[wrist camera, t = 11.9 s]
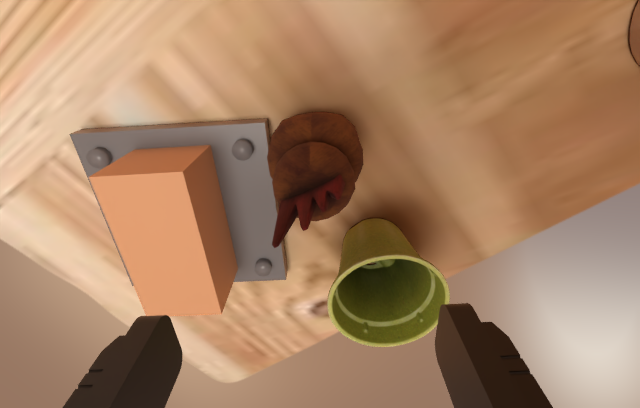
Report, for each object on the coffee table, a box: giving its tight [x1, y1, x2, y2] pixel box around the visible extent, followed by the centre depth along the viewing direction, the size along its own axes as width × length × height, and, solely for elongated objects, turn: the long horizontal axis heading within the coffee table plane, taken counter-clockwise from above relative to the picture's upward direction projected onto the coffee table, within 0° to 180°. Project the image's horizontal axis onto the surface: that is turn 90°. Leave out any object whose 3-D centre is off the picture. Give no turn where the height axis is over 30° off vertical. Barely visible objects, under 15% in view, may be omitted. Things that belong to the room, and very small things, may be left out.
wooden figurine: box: [267, 112, 363, 248], centre depth 22 cm, size 7×6×15 cm
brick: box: [89, 145, 238, 316], centre depth 27 cm, size 6×13×6 cm, turn 4°
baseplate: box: [70, 118, 287, 286], centre depth 30 cm, size 16×16×2 cm
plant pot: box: [327, 218, 450, 347], centre depth 29 cm, size 9×9×9 cm
